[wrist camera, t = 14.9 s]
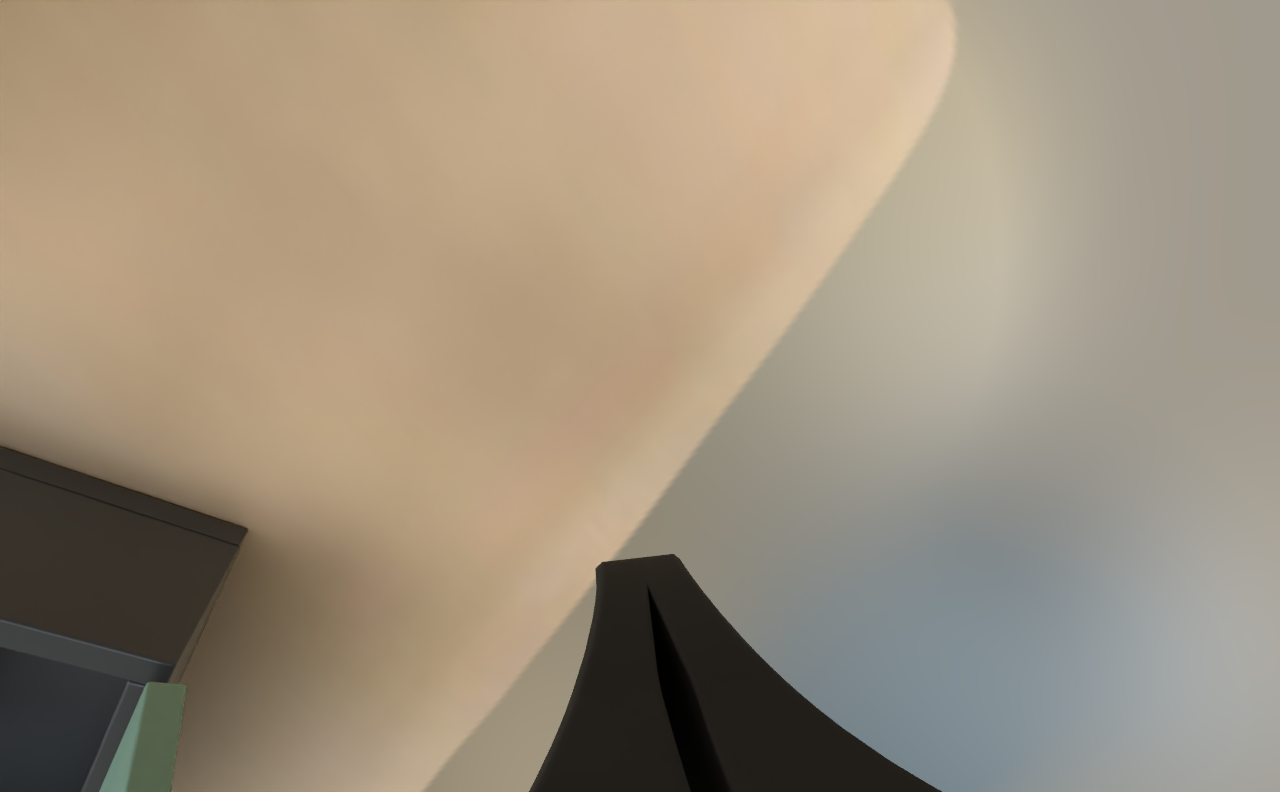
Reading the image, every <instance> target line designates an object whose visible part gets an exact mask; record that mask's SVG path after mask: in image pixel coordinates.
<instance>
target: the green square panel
mask: <svg viewBox="0 0 1280 792" xmlns="http://www.w3.org/2000/svg"><path fill="white" fill-rule="evenodd" d="M186 690H187V688H186V685H184V684H174V683H162V682H148V683H147V684H146V685H145V687H144V690H143V692H142V694H141V696H140V699H139V701H138V703H137V706H136V708H135V710H134V713H133V715H132V717H131V719H130V722H129V724H128V726H127V729H126V731H125V733H124V736H123V738H122V740H121V742H120V745H119V747H118V749H117V752H116V754H115V756H114V759H113V761H112V763H111V765H110V768H109V770H108V772H107V775H106V777H105V779H104V782H103V784H102V786H101V788H100V791H99V792H171V786H172V780H173V774H174V767H175V761H176V754H177V748H178V741H179V735H180V728H181V722H182V716H183V709H184V703H185V696H186Z"/></svg>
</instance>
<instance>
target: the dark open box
mask: <svg viewBox="0 0 1280 792" xmlns="http://www.w3.org/2000/svg"><path fill="white" fill-rule="evenodd" d="M246 534H247V529H245V528H242V527H239V526H236V525H233V524H230V523H227V522H224V521H221V520H218V519H215V518H212V517H209V516H206V515H203V514H200V513H197V512H194V511H191V510H188V509H185V508H182V507H179V506H176V505H173V504H170V503H167V502H164V501H161V500H158V499H155V498H152V497H149V496H146V495H143V494H140V493H137V492H134V491H131V490H128V489H125V488H122V487H119V486H116V485H113V484H110V483H107V482H104V481H101V480H98V479H95V478H92V477H89V476H86V475H83V474H80V473H77V472H74V471H71V470H68V469H65V468H62V467H59V466H56V465H53V464H50V463H47V462H44V461H41V460H38V459H35V458H32V457H29V456H26V455H23V454H20V453H17V452H14V451H11V450H8V449H5V448H2V447H0V792H99V791H100V788H101V786H102V784H103V782H104V779H105V777H106V775H107V772H108V770H109V768H110V765H111V763H112V761H113V759H114V756H115V754H116V752H117V749H118V747H119V745H120V742H121V740H122V738H123V736H124V733H125V731H126V729H127V726H128V724H129V722H130V719H131V717H132V715H133V713H134V710H135V708H136V706H137V703H138V701H139V699H140V696H141V694H142V692H143V690H144V687H145V685H146V684H147V683H148V682H162V683H174V684H179V682H180V679H181V677H182V675H183V673H184V671H185V668H186V666H187V664H188V662H189V660H190V657H191V655H192V653H193V651H194V649H195V646H196V644H197V642H198V640H199V637H200V635H201V633H202V631H203V629H204V626H205V624H206V622H207V620H208V618H209V615H210V613H211V611H212V609H213V607H214V604H215V602H216V600H217V598H218V596H219V593H220V591H221V589H222V587H223V584H224V582H225V580H226V578H227V576H228V573H229V571H230V569H231V567H232V565H233V562H234V560H235V558H236V556H237V554H238V551H239V549H240V547H241V545H242V543H243V540H244V538H245V536H246Z"/></svg>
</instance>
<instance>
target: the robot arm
mask: <svg viewBox="0 0 1280 792" xmlns="http://www.w3.org/2000/svg"><path fill="white" fill-rule="evenodd" d="M596 584H597V590H596V601H595V607H594V614H593V620H592V624H591V628H590V633H589V637H588V642H587V646H586V650H585V654H584V658H583V661H582V664H581V667H580V670H579V674H578V677H577V680H576V684H575V686H574V689H573V693H572V695H571V698H570V701H569V704H568V707H567V709H566V712H565V715H564V717H563V720H562V722H561V725H560V727H559V729H558V732H557V734H556V736H555V739H554V741H553V744H552V746H551V748H550V750H549V752H548V754H547V756H546V758H545V760H544V763H543V765H542V767H541V769H540V771H539V774H538V775H537V777H536V779H535V781H534V783H533V785H532V787H531V789H530V791H529V792H942V791H940V790H938V789H936V788H934V787H933V786H931V785H929V784H928V783H926V782H924V781H923V780H921V779H919V778H918V777H915V776H914V775H913V774H911V773H909V772H908V771H906V770H904V769H903V768H901V767H899V766H897V765H896V764H894V763H893V762H891V761H890V760H888V759H886V758H885V757H884V756H882V755H881V754H879V753H877V752H876V751H875V750H873V749H872V748H871V747H869V746H868V745H866V744H865V743H863V742H862V741H860V740H859V739H858V738H856V737H855V736H853V735H852V734H850V733H849V732H847V731H846V730H845V729H843V728H842V727H841V726H839V725H838V724H836V723H835V722H834V721H833V720H832V719H830V718H829V717H828V716H826V715H825V714H824V713H823V712H821V711H820V710H819V709H818V708H816V707H815V706H814V705H813V704H811V703H810V702H809V701H808V700H807V699H806V698H804V697H803V696H802V695H801V694H800V693H799V692H797V691H796V690H795V689H794V688H793V687H792V686H791V685H790V684H788V683H787V682H786V681H785V680H784V679H783V678H782V677H781V676H780V675H779V674H778V673H777V672H776V671H774V670H773V669H772V668H771V667H770V666H769V665H768V664H767V663H766V662H765V661H764V660H763V659H762V658H761V657H760V656H759V655H758V654H757V653H756V652H755V651H754V650H753V649H752V647H751V646H750V645H749V644H748V643H747V642H746V641H745V640H744V639H743V638H742V637H741V636H740V635H739V633H738V632H737V631H736V630H735V629H734V628H733V627H732V626H731V624H730V623H729V622H728V621H727V620H726V619H725V618H724V616H722V614H721V613H720V612H719V611H718V609H717V608H716V607H715V606H714V605H713V603H712V602H711V601H710V600H709V598H708V597H707V596H706V595H705V593H703V591H702V590H701V588H700V587H699V586H698V584H697V583H696V582H695V580H694V579H693V578H692V576H691V575H690V574H689V572H688V571H687V569H686V568H685V567H684V565H683V563H682V562H681V560H680V559H679V558H678V557H676V556H675V555H674V554H669V555H661V556H652V557H643V558H634V559H625V560H617V561H608V562H602V563H601V564H600V565H599V566H598V567H597V568H596Z"/></svg>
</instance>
